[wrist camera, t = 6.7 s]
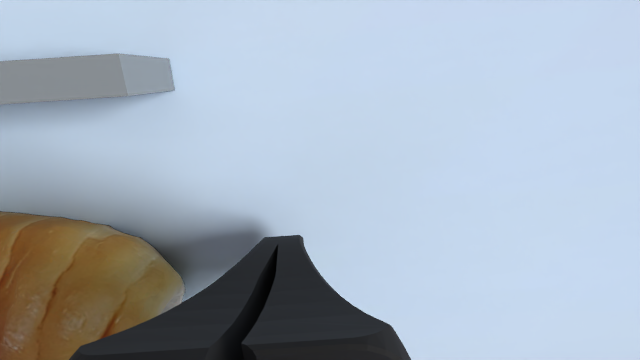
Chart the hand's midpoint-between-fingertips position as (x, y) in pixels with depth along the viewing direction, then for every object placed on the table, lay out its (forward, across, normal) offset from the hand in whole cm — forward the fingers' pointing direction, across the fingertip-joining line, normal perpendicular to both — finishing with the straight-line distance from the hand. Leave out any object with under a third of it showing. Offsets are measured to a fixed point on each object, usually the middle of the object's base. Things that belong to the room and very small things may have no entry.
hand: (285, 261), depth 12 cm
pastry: (+2, +8, +2) cm, 9 cm away
